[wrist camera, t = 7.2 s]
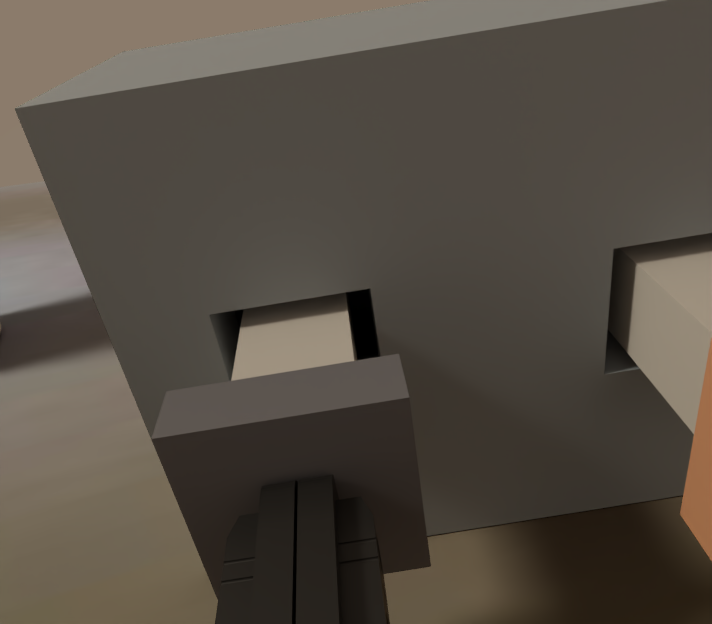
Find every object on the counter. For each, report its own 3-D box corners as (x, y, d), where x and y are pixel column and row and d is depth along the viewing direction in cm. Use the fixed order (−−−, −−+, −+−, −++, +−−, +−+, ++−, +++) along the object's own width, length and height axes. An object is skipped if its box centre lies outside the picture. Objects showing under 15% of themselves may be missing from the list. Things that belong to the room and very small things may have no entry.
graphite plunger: (431, 566, 14) (409, 397, 12) (217, 600, 14) (151, 438, 12) (384, 344, 22) (365, 216, 20) (248, 365, 23) (213, 241, 20)
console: (798, 476, 22) (958, -49, 13) (206, 571, 22) (14, 108, 14) (661, 333, 30) (710, -47, 22) (232, 402, 30) (122, 51, 22)
